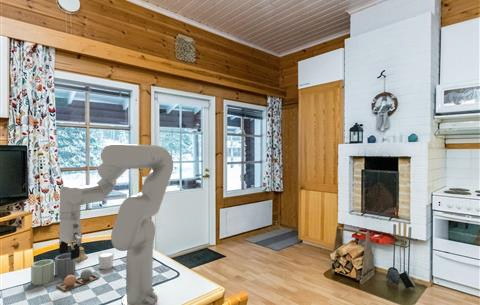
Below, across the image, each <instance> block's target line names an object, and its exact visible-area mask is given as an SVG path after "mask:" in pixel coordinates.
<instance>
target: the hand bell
mask: <svg viewBox="0 0 480 305" xmlns="http://www.w3.org/2000/svg"><path fill="white" fill-rule="evenodd" d="M88 258H89V257H88V255H87V254H86V252H85V249H84V247H82V245H81V246H80V255H79V258H75V263H76V262H80V261H85V260H87V259H88Z"/></svg>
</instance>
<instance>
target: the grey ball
mask: <svg viewBox="0 0 480 305" xmlns="http://www.w3.org/2000/svg"><path fill="white" fill-rule="evenodd" d="M92 274H93V272H92V270H91V269H89V268H88V269H87V268H85V269H83V270H82V271H81V273H80V277H81V279H82V280H88V279H89V278H90V277H91V276H92Z"/></svg>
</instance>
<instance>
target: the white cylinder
mask: <svg viewBox="0 0 480 305" xmlns="http://www.w3.org/2000/svg"><path fill="white" fill-rule="evenodd" d="M98 265H99V266H98V267H99V269H100V270H108V269H110V268H112V267H113V265H114V252H112V251H107V252H102V253H99V254H98Z"/></svg>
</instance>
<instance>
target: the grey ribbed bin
mask: <svg viewBox="0 0 480 305" xmlns="http://www.w3.org/2000/svg"><path fill="white" fill-rule="evenodd" d="M75 272H76V262H75V259H71V252H70V253H68V252H67V253H62V254H59V255H57V256H56V257H54V277H55V276H56V277H58V278H59V277H61V278H62V277H67V276H68V275H74V273H75Z"/></svg>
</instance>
